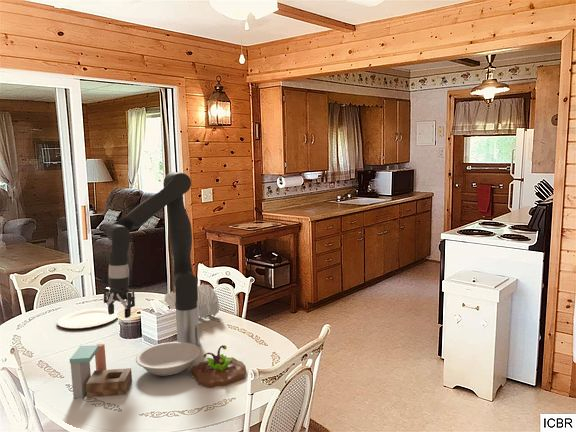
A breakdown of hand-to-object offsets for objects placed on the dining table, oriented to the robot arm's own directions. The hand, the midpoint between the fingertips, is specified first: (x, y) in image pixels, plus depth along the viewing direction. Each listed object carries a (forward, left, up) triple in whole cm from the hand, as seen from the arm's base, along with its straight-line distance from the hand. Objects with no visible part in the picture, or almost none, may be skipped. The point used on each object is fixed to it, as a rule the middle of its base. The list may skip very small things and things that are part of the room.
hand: (119, 315), depth 186 cm
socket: (0, +20, -20) cm, 29 cm away
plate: (+30, -55, -21) cm, 65 cm away
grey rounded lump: (-25, -46, -20) cm, 56 cm away
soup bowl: (-19, +8, -20) cm, 29 cm away
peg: (+6, +9, -20) cm, 23 cm away
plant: (-39, +14, -21) cm, 47 cm away
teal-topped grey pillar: (+7, +20, -20) cm, 30 cm away
